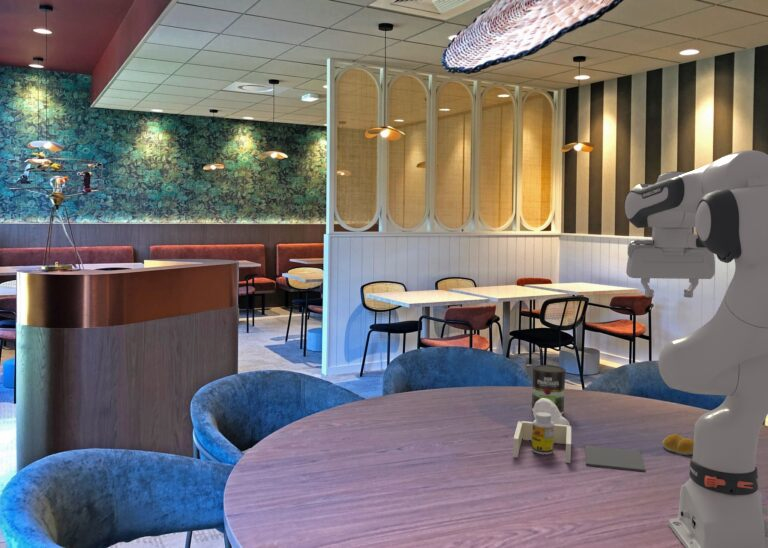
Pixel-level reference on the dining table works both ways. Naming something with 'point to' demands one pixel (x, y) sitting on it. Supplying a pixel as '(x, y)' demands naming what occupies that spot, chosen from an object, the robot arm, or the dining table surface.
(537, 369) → the coffee can
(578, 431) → the dining table surface
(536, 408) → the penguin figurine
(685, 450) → the bread roll
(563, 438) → the beige u-shaped bracket
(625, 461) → the mat
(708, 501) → the robot arm
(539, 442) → the supplement bottle
